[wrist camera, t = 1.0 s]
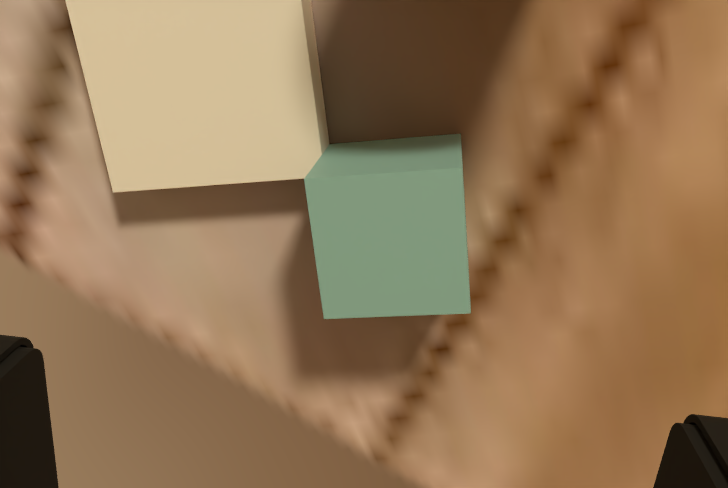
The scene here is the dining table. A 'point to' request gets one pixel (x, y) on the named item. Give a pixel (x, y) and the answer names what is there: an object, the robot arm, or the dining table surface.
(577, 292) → the dining table surface
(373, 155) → the block
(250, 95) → the coaster
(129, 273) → the dining table surface
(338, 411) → the dining table surface
